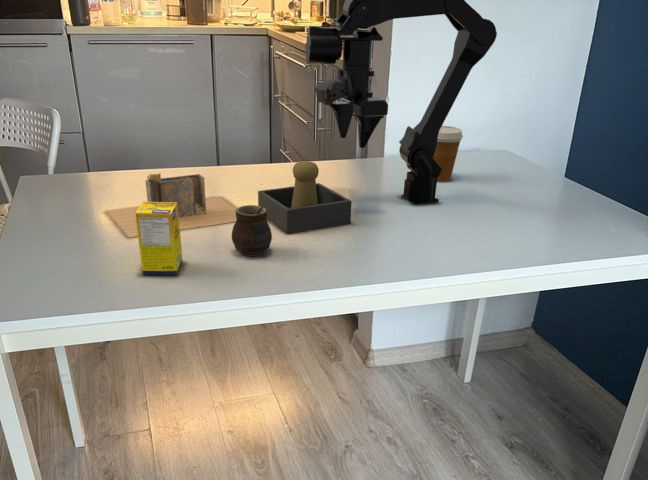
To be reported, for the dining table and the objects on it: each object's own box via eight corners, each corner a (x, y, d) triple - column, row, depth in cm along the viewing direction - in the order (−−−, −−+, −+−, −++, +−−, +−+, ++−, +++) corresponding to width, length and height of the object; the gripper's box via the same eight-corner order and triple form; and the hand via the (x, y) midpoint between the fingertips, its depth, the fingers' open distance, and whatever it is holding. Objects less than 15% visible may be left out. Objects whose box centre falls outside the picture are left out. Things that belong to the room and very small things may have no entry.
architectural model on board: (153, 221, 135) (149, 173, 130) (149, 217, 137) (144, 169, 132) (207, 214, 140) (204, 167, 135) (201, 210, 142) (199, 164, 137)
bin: (318, 204, 148) (319, 182, 146) (350, 223, 138) (351, 200, 135) (258, 213, 142) (257, 190, 139) (287, 233, 132) (287, 210, 129)
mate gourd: (252, 241, 127) (250, 189, 122) (281, 251, 123) (281, 198, 118) (224, 251, 122) (221, 198, 117) (254, 263, 118) (252, 208, 113)
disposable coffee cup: (416, 180, 166) (421, 131, 160) (422, 171, 174) (427, 123, 168) (454, 185, 164) (461, 135, 158) (459, 175, 172) (465, 127, 166)
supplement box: (182, 262, 118) (178, 201, 112) (177, 276, 113) (172, 213, 107) (148, 261, 117) (142, 200, 112) (141, 275, 112) (134, 212, 107)
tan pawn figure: (284, 213, 140) (285, 160, 135) (309, 209, 143) (310, 157, 138) (300, 222, 136) (301, 167, 130) (324, 217, 139) (326, 164, 133)
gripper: (302, 59, 140) (300, 135, 148) (340, 72, 126) (336, 156, 134) (349, 58, 144) (346, 132, 152) (392, 70, 130) (385, 152, 138)
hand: (352, 142), depth 144 cm, fingers open, 9 cm apart
